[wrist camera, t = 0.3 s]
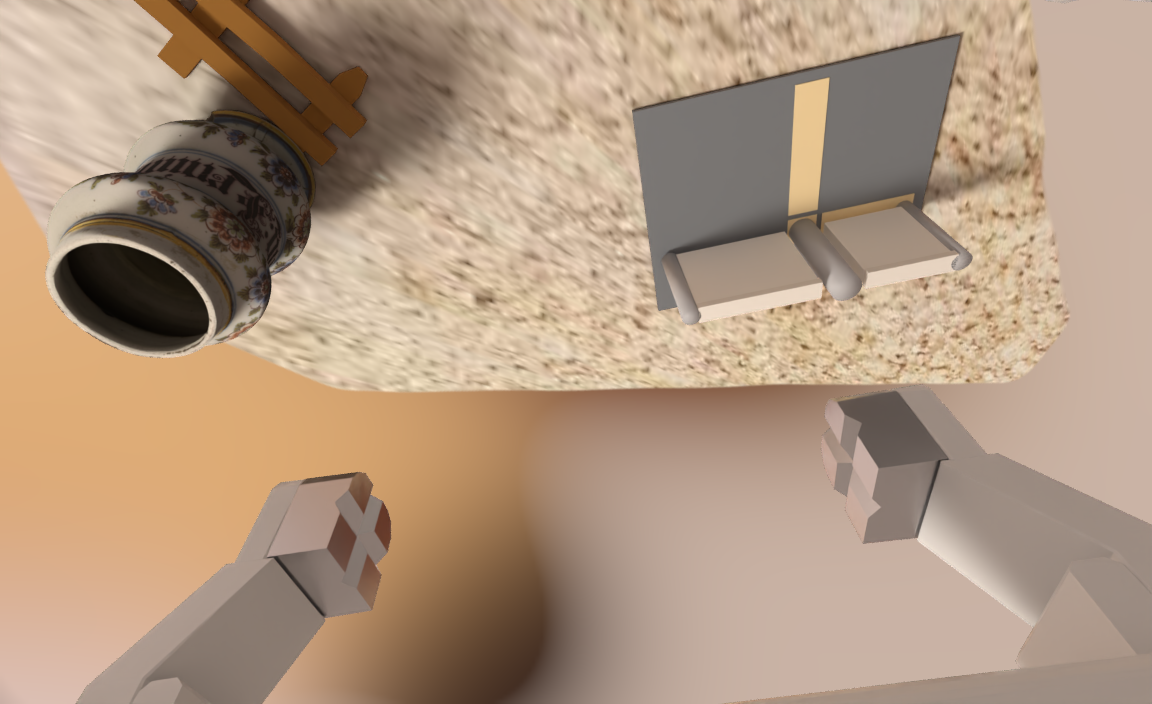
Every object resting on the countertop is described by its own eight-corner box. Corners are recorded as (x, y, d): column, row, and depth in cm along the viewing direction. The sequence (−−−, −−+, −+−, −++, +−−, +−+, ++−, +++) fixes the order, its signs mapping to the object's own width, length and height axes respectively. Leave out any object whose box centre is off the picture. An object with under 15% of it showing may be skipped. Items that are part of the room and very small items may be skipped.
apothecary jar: (241, 61, 40) (99, 165, 27) (361, 197, 48) (297, 333, 34) (128, 145, 44) (-49, 277, 30) (256, 261, 51) (160, 408, 37)
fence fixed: (787, 218, 52) (833, 279, 45) (911, 192, 51) (979, 249, 44) (786, 241, 54) (830, 303, 46) (906, 215, 53) (971, 274, 45)
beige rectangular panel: (660, 254, 53) (681, 311, 46) (783, 228, 52) (822, 282, 45) (662, 269, 54) (682, 326, 47) (783, 243, 53) (821, 298, 46)
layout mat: (632, 110, 45) (633, 112, 44) (957, 34, 43) (961, 36, 43) (658, 308, 58) (658, 311, 57) (908, 256, 56) (910, 259, 56)
